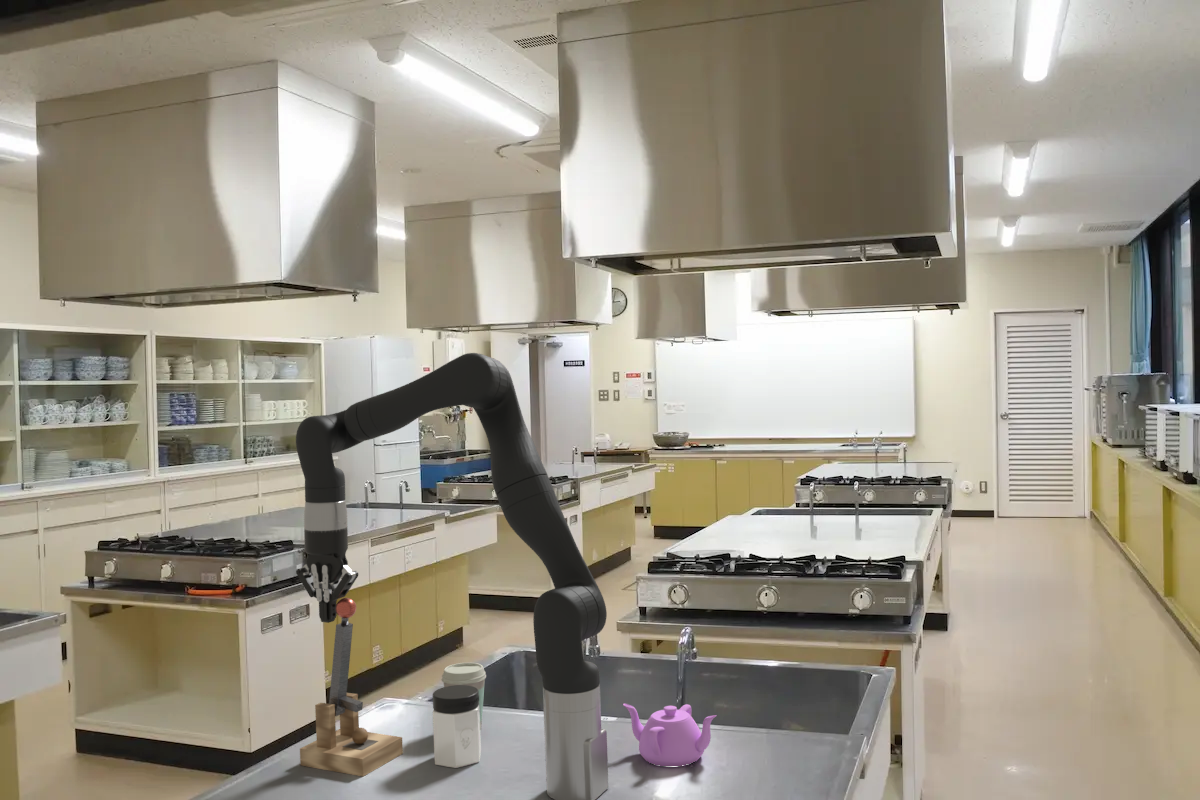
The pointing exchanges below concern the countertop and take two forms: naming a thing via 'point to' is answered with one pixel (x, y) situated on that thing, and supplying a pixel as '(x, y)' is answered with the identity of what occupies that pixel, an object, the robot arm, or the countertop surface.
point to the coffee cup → (466, 679)
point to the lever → (343, 660)
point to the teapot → (671, 736)
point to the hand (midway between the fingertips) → (327, 621)
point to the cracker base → (347, 744)
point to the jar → (456, 726)
